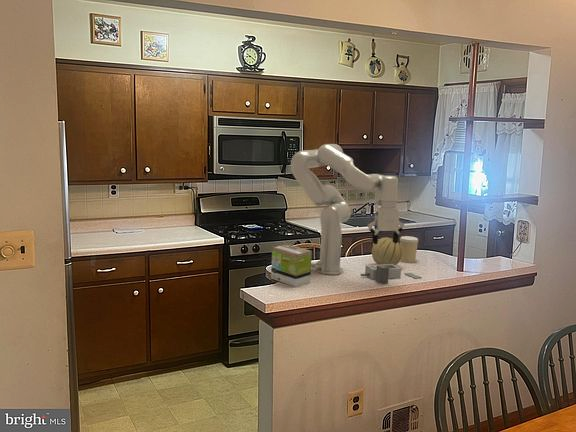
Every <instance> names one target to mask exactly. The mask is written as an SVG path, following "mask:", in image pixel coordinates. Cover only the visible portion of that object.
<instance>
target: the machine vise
mask: <svg viewBox="0 0 576 432" xmlns="http://www.w3.org/2000/svg"><path fill="white" fill-rule="evenodd" d="M384 265H385V266H387V267H388V268H389V276H388V280H390V279H391V278H393V279H401V277H402V275H401V274H402V268H401V267H399V266H397V265H394V264H382V265H379V264H365V268H364V269H365V271H364V273H360V277H368V278H369V279H371V280H373V281H374V280H375V281H376V269H377V266H384Z"/></svg>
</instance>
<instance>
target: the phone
mask: <svg viewBox="0 0 576 432" xmlns="http://www.w3.org/2000/svg"><path fill="white" fill-rule="evenodd" d="M404 274H405V276H407V277H409V278H411V277H412V278H411V279H414V280H417V279H422V276H419V275H418V274H415V273H412V272H406V273H405V272H404V273H403V275H404Z"/></svg>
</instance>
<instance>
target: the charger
mask: <svg viewBox="0 0 576 432" xmlns="http://www.w3.org/2000/svg"><path fill="white" fill-rule="evenodd" d="M388 276H389V268H388V267H387V266H385V265H384V266H377V269H376V280H375V282H376V281H377V283H378V284H379V283H383V284H389V279H388Z"/></svg>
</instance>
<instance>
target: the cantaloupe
mask: <svg viewBox="0 0 576 432" xmlns="http://www.w3.org/2000/svg"><path fill="white" fill-rule="evenodd" d="M371 256H372V259H373V261H374V262H375V263H376V265H382V264H394V265H396V266H397V265H398V264H399V263H400V262H401V261H400V260H401V258H402V247H401V245H400V242H399V241H397V243H394V242H393V237H387V236H385V237H381V238H378V243H377V244H374V243H373V245H372V249H371Z"/></svg>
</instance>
